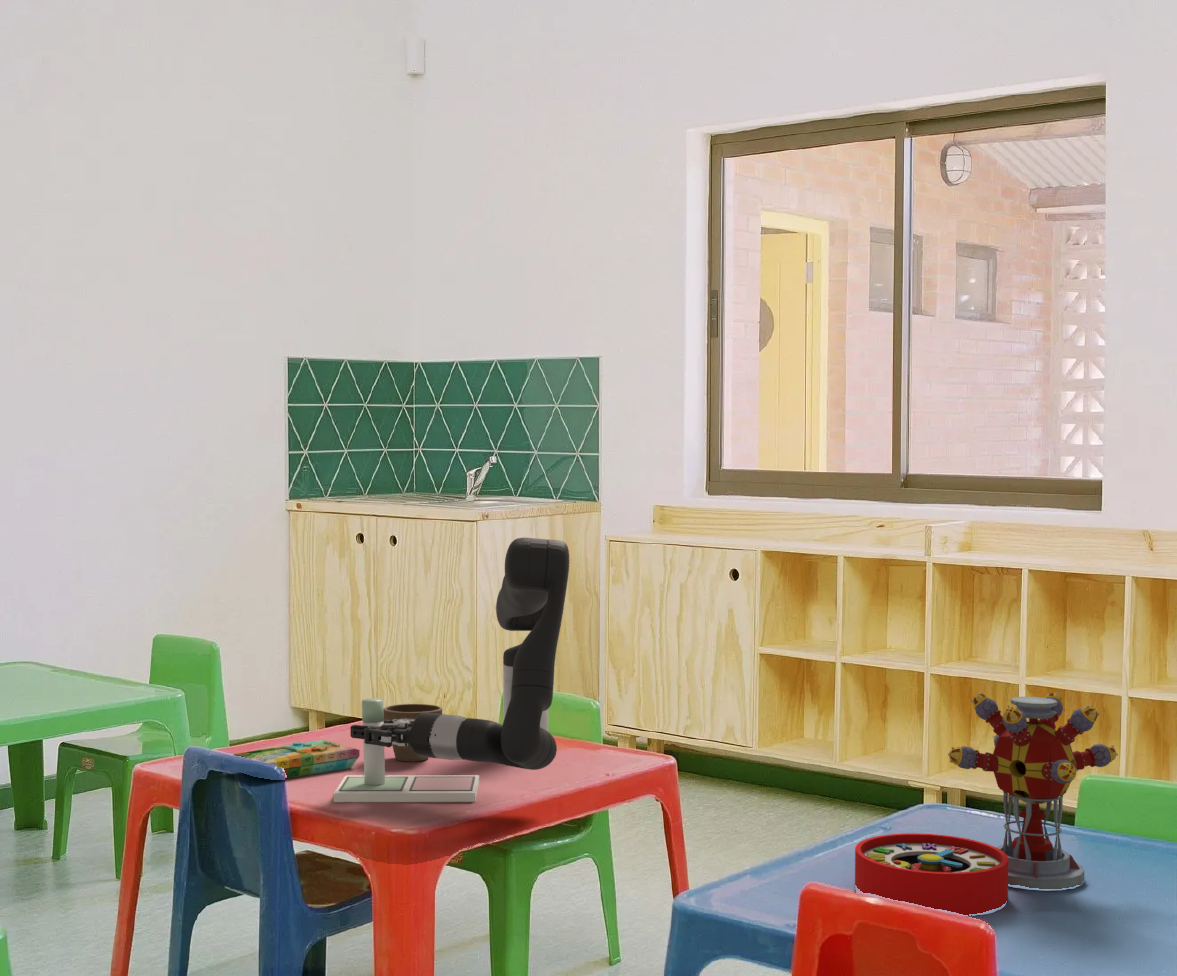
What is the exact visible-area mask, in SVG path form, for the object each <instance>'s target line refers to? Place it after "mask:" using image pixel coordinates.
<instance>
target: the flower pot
mask: <svg viewBox="0 0 1177 976" xmlns="http://www.w3.org/2000/svg"><path fill="white" fill-rule="evenodd" d="M425 712H426V713H437V714H443V707H442V706H440V705H439V706H438V705H434V704H428V703H427V704H425V703H404V704H402V703H401V704H392V705H389V706H384V720H394V719H397V720H398V719H401V718H409V719H416V717H417V716H418V715H419V714H421V713H425ZM392 751H393V753H394V757H395V759H396V761H397V760H398V761H400V762H410V763H412V762H423V761H426V760H428V759H430V758H429V757H420V756H418V755H416V754H415V753H414V752H413V750H412V748H411V746H410V744H409V743H408V746H398V745H392Z"/></svg>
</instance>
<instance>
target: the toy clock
mask: <svg viewBox="0 0 1177 976" xmlns="http://www.w3.org/2000/svg"><path fill="white" fill-rule="evenodd" d="M855 885H856V886H857V888H858V889H860V891H862V892H863V893H871V894H876V895H879V896H882V897H885V898H890V899H893V900H898V901H905V902H909V903H914V904H918V905H922V906H925V907H931V908H934V909H942V910H947V911H951V912H956V913H959V914H963V915H968V916H969V914H977V913H983V912H986V911H989V910H992V909H996V908H999V907H1001V906H1002V905H1003V904H1005V903H1006V901H1008V902H1009V887H1008V856H1007V855H1006V853H1004V852H1003V851H1002V850H1000V849H998V848H997V847H996V846H994V845H992V844H988V843H987V842H986V843H985V842H982V841H979V840H975V839H969V838H966V837H960V836H959V837H958V836H954V835H946V834H936V833H920V832H919V833H915V832H914V833H913V832H912V833H911V832H910V833H904V832H903V833H892V834H891V833H890V834H883V835H877V836H873V837H868V838H865V839H863V840H862V841H859V842H858V843H857V844H856V846H855V848H854V886H855ZM971 916H972V915H971Z"/></svg>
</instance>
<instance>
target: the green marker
mask: <svg viewBox="0 0 1177 976" xmlns="http://www.w3.org/2000/svg"><path fill="white" fill-rule="evenodd" d="M384 708H385V706H384V699H383V698H380V697H378V698H376V697H375V698H365V699H362V700H361V714H362V716H361V717H362V718H361V719H362V725H363V726H382V724H384ZM362 740H363V741H362V743H363V746H362V747H363V775H364V784H365V785H369V786H376V785H382V784H385V775H386V766H385V765H386V763H385V762H386V761H385V759H386V757H385V746H378V745H372V744H366V743H364V741H365V739H362Z"/></svg>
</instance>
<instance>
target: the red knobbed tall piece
mask: <svg viewBox="0 0 1177 976" xmlns="http://www.w3.org/2000/svg"><path fill="white" fill-rule="evenodd" d="M1062 700H1063V699H1062V698H1061V697H1060V695H1059V692H1055V693H1054V692H1049V691H1048V692H1047V695H1046V696H1045V697H1040V696H1015V697H1011V698H1010V704H1011V705H1013V706H1016V707H1013V706H1010V705H1009V704H1008V705H1007V708H1006V709H1005V711H1004V713H1003V715H1002V714H1001V713H1002V710H1000V709H999V705H998V704H997V702H996V701H995V700H994V699H992V698H990V697H989V696H986V695H985V694H984V692H981V693H979V694H976V695H975V696H974V697H973V699H971V700H970V703H972V705H973V708H974V710H975V714H976V715H977V717H978V718H980V719H982V720H985V721H984V722H985V723H986V724H988V723H989V725H990V726H991V727H992V728H993V730H992V731H993V733H994V734H995V735H992V738H993V743H994V750H993V751H992V753H991V752H984V753H982V752H980V751H979V750H978V749H974V748H973V747H970V746H963V745H962V746H961V747H960V746H957V747H953V746H951V749H950V751H949V753H948V754H947V755H948V758H949V763H952V764H954V765H955V766H957V767H959V769H960V768H961V769H965V770H969V769H973V770H976V769H977V768H978V769H981V770H982V771H983V772H990V773H991V772H993V775H994V778H995V781H996V784H997V787H998V788H999V790H1001V791H1002V793H1003V800H1002V801H1003V802H1002V803H1003V812H1004V818H1005V823H1004V824H1003V828H1004V829H1005V833H1004V839H1003V844H1002V845H999V846H997V847H996V848H998V849H1000V850H1002V851H1003V852H1004V853H1006V855H1007V856H1008V884H1010V885H1020V886H1025V887H1029V888H1039V889H1062V888H1069V887H1074V886H1076V885H1081V884H1082V882H1083V881H1084V882H1085V869H1084V866H1082V865H1080V864H1079V863H1077V862H1076V860H1075V859H1074V858H1073V855H1072V854H1069V853H1068V852H1067V851H1065V850H1064V849H1062V843H1061V837H1060V834H1061V833H1062V828H1061V822H1062V817H1063V811H1064V810H1063V809H1064V808H1063V806H1064V805H1063V803H1064V802H1063V798H1064V795H1065V794H1066V793H1067V791H1068V790H1069V788H1070V785H1071V783H1072V782H1073V781H1074V779H1075V778H1076V776H1077V772H1078V771H1081V770H1084V769H1085V768H1086V767H1091V768H1094V767H1097V768H1104V767H1107V766H1108V765H1109V764H1110V763H1113V761H1114V760H1116V757H1117V756H1119V754H1118V753H1117V751H1116V749H1115V746H1114V745H1113V744H1111V745H1107V744H1103V743H1102V744H1101V743H1096V744H1093V745H1091V746H1090V747H1088V748H1085V750H1084V751H1079V750H1075V751H1073V748H1072V746H1071V745H1072V743H1074V742H1075V741H1076V737H1077V736H1079V735H1083V734H1084V733H1085V732H1088V731H1090V730H1092V728H1093V727H1094V725H1095V723H1096V721H1097V719H1098V717H1099V716H1100V714H1101V713H1100V712H1098V710H1097V709H1096V707H1094V705H1093V704H1091V705H1088V704H1087V705H1085V706H1081V707H1080V708H1077V709H1075V710H1073V711H1072V714H1071V716H1070V718H1067V720H1066V722H1067V723H1066V724H1064V725H1061V726H1059V727H1058V728H1057V729H1056V722H1058V720H1059V718H1060V717H1061V716H1062V713H1063V711H1064V706H1063V701H1062ZM1027 719H1028V720H1027ZM1020 800H1021V801H1022V802H1024V803H1025V808H1022V809H1021V810H1020V812H1019V809H1020V808H1019V806H1020V805H1019V804H1020ZM1052 802H1053V803H1052ZM1043 804H1046V807H1045V811H1044V810H1043V809H1041V807H1040V805H1043ZM1052 806H1053V810H1052V812H1053V820H1054V824H1052V823H1049V822H1047V820H1048V818H1049V814H1050V811H1051V809H1052ZM1012 809H1013V810H1012ZM1012 813H1013V815H1014V820H1013V821H1011V815H1012ZM1020 818H1022V819H1023V820H1020ZM1042 820H1043V821H1042ZM1021 823H1022V827H1021ZM1012 824H1016V826H1017V828H1018V831H1017V830H1013V829H1010V828H1011V827H1010V825H1012ZM1046 826H1050V827H1053V828H1055V832H1053V833H1052V832H1051V833H1048V830H1047V828H1046ZM1012 833H1014V834H1018V836H1016V837H1015V838H1013V840H1012V835H1011V834H1012ZM1052 836H1056V837H1055V841H1054V846H1053V844H1052V842H1051V840H1050V837H1052ZM1082 885H1083V884H1082Z"/></svg>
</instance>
